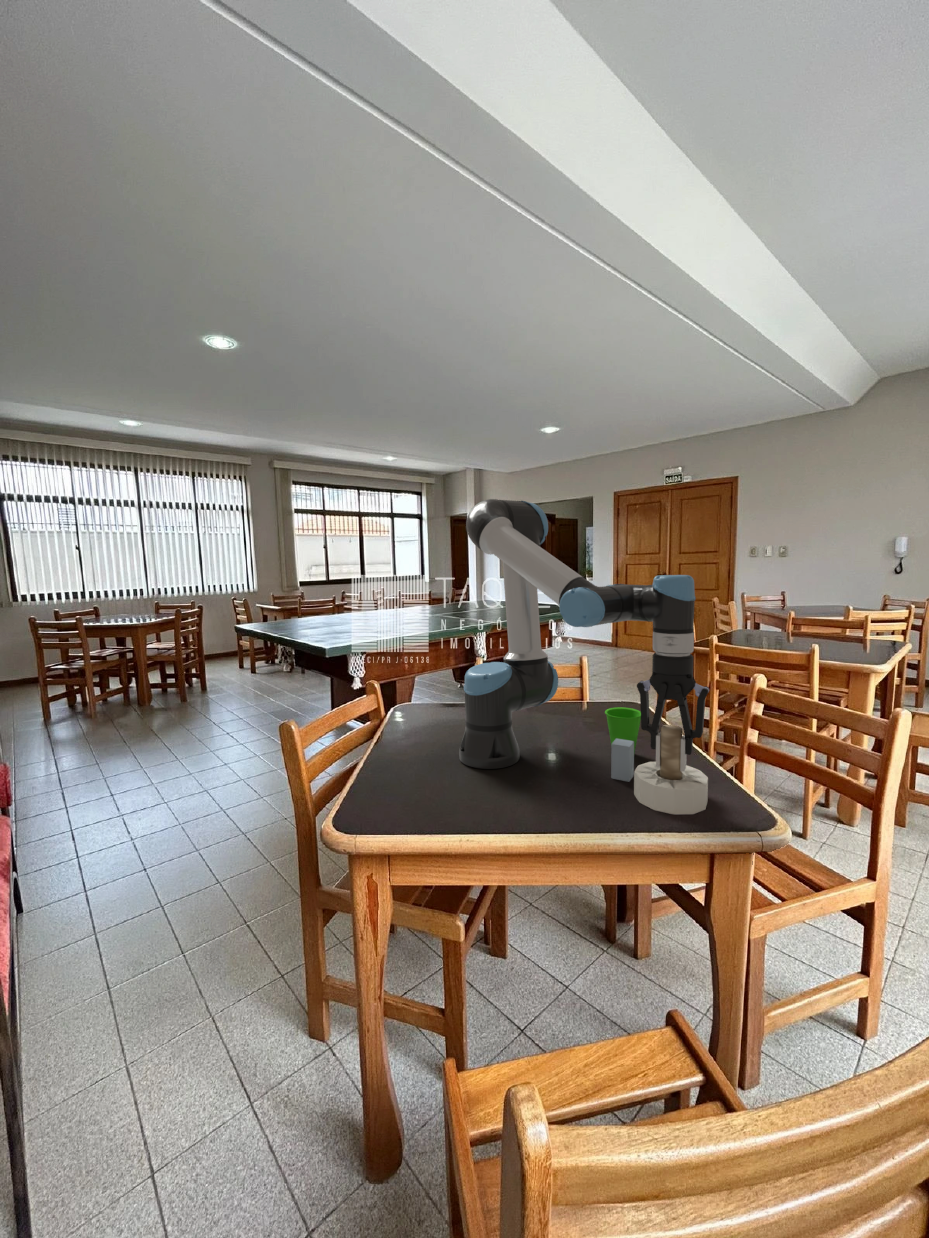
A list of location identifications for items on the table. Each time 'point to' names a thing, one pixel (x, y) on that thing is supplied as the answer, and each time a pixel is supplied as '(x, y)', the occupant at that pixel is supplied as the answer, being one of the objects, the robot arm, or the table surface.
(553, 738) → the table surface
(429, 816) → the table surface
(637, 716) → the cup
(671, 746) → the dowel
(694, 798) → the socket
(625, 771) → the square peg
